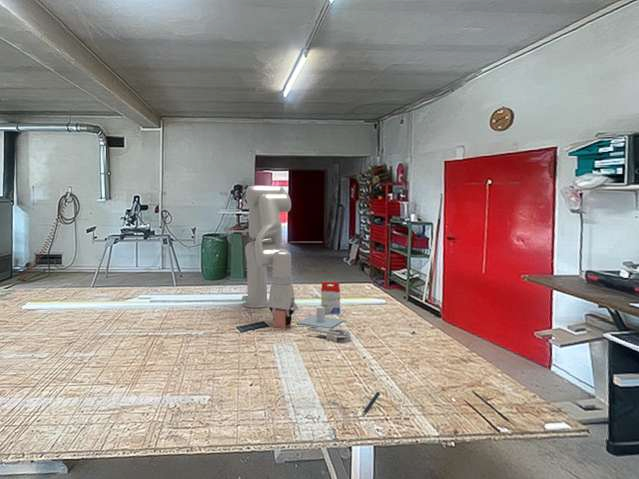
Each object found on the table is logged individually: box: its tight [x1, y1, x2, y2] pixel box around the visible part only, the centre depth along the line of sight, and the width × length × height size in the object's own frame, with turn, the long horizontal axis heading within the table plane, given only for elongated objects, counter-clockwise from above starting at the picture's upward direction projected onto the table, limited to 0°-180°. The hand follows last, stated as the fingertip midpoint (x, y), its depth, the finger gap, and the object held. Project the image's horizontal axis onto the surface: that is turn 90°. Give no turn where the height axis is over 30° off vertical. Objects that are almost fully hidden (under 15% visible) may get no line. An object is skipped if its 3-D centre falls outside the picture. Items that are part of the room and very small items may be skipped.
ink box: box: [320, 281, 341, 315], centre depth 227 cm, size 8×5×15 cm, turn 84°
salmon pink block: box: [273, 309, 292, 329], centre depth 204 cm, size 5×5×7 cm
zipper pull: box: [306, 326, 351, 344], centre depth 188 cm, size 8×18×4 cm, turn 60°
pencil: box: [361, 391, 380, 417], centre depth 129 cm, size 1×1×15 cm
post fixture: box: [296, 306, 345, 329], centre depth 210 cm, size 16×14×7 cm
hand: (282, 323), depth 205 cm, fingers closed on salmon pink block, 5 cm apart
